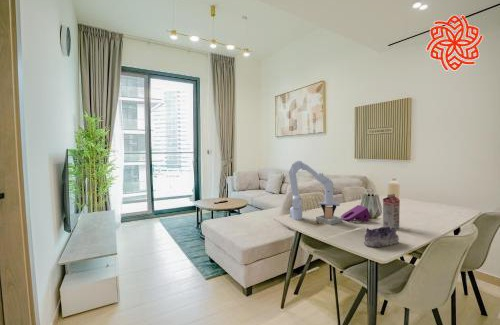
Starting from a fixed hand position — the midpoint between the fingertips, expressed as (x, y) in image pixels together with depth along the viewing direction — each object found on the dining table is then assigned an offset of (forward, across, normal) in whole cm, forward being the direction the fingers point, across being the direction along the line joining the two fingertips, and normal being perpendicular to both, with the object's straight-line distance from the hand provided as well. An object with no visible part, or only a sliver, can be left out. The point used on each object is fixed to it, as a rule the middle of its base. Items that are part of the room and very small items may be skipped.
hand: (328, 215), depth 168 cm
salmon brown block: (+2, 0, 0) cm, 2 cm away
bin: (+5, 0, 0) cm, 5 cm away
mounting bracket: (+5, -17, -9) cm, 20 cm away
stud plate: (+5, +7, +8) cm, 12 cm away
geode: (+5, -28, +31) cm, 42 cm away
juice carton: (+5, -39, 0) cm, 39 cm away
